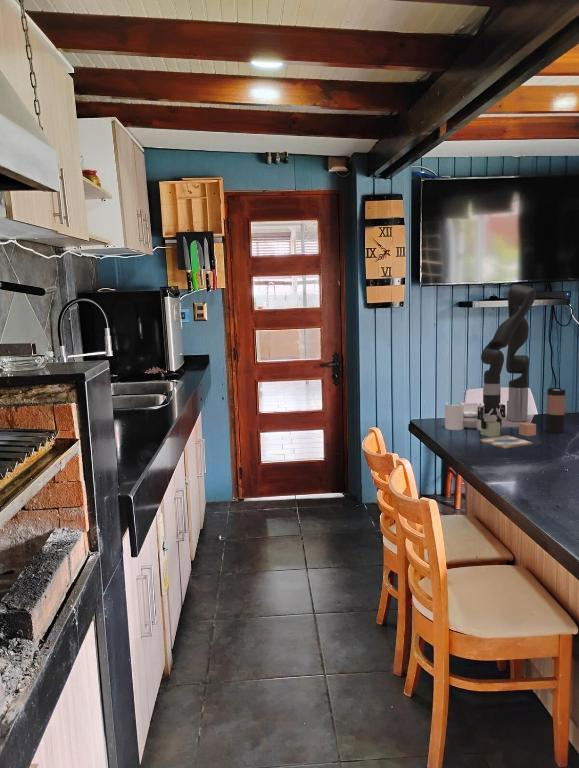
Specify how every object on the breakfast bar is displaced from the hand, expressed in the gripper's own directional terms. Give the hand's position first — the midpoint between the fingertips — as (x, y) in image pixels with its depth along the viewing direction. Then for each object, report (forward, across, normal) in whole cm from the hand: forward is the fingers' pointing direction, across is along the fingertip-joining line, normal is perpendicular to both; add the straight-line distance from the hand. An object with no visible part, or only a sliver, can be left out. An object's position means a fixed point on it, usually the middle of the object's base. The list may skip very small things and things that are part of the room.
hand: (491, 427), depth 261 cm
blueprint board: (+4, +4, +14) cm, 15 cm away
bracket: (+4, -1, -15) cm, 16 cm away
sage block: (+3, 0, -1) cm, 3 cm away
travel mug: (+3, -29, +10) cm, 31 cm away
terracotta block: (+3, -14, +7) cm, 16 cm away
